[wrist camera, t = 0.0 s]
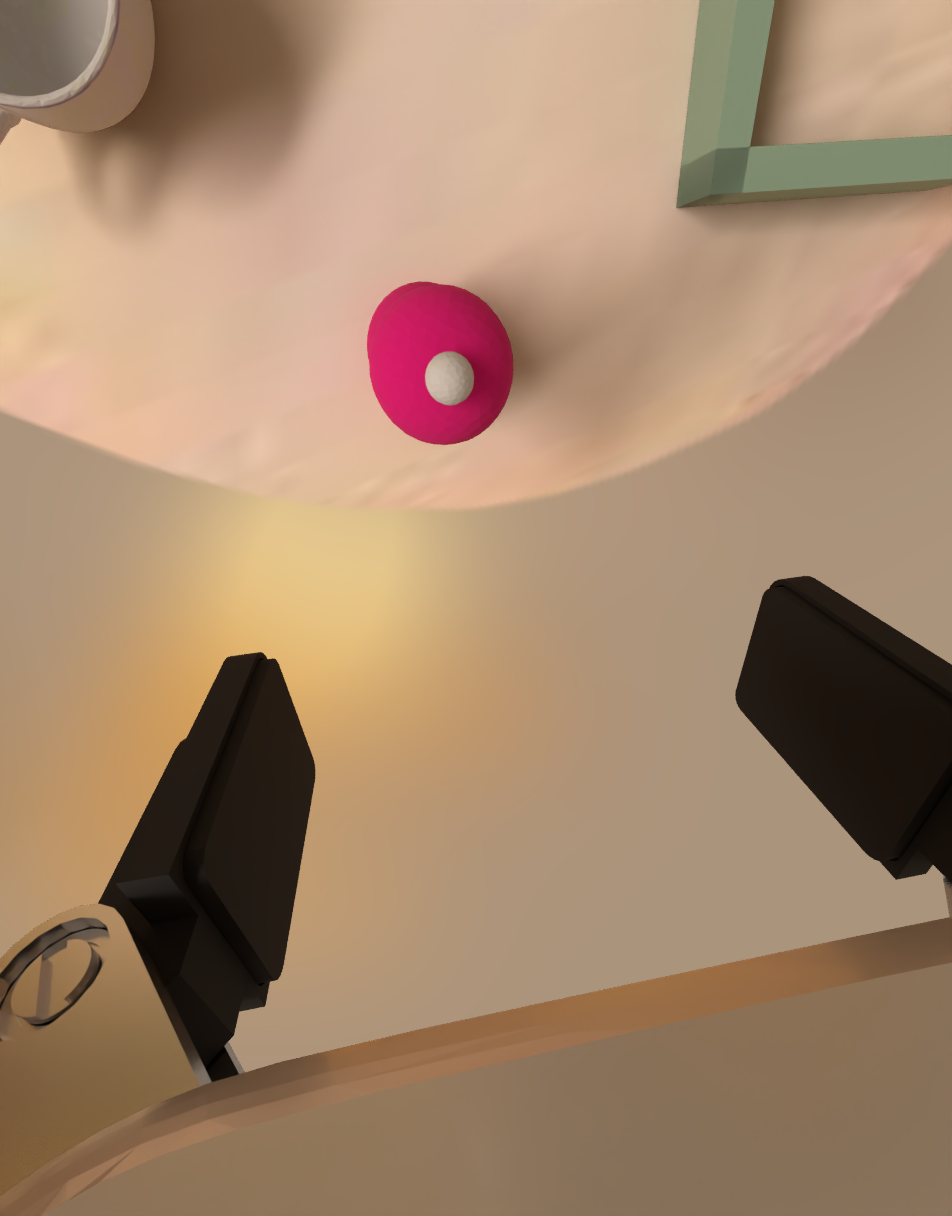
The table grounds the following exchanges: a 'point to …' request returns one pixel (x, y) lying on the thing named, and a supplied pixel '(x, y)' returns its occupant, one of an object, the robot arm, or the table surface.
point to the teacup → (73, 62)
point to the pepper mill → (439, 362)
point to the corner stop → (749, 174)
